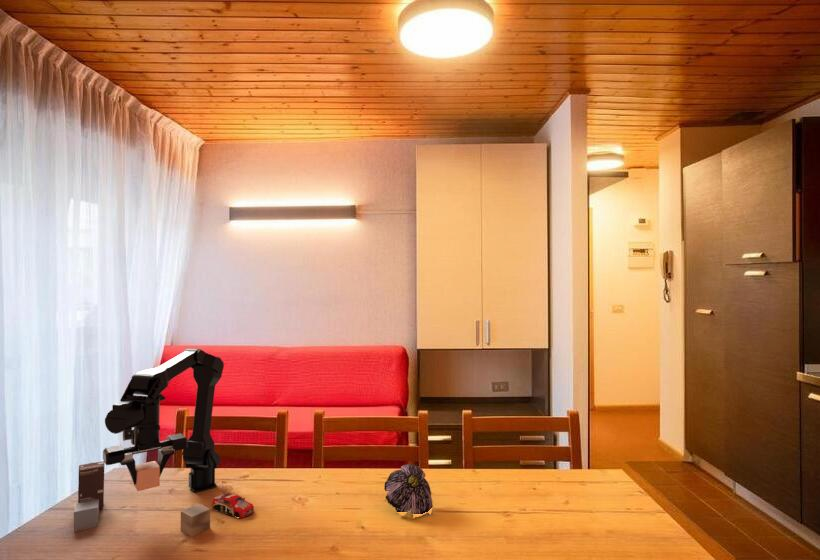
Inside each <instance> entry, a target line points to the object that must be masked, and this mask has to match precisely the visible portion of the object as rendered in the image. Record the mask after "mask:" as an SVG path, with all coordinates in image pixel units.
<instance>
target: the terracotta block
mask: <svg viewBox="0 0 820 560" xmlns="http://www.w3.org/2000/svg"><path fill="white" fill-rule="evenodd" d="M157 463H158V461H156V460H153V461H147V462H143V463H138V464H135V467H136V478H137V480H136V484H135V485H134V484H133V486H134V489H136V491H137V492H140V491H144V490H148V489H152V488H157V487H160V486H161V485H160V484H161V483H160V482H161V479H160V478H161V476H160V466H159V465H158V464H157Z"/></svg>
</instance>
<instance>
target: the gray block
mask: <svg viewBox="0 0 820 560" xmlns="http://www.w3.org/2000/svg"><path fill="white" fill-rule="evenodd" d="M99 513H100V509H99V499H98V500H92V501H87V502H82V503H78V502H77V503H75V505H74V510H73V532H77V531H76V530H78V531H81V530H82V529H83V530H88V529H92V528H95V527H98V526H99V520H100V519H99V517H100V516H99V515H100V514H99Z"/></svg>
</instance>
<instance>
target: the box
mask: <svg viewBox="0 0 820 560" xmlns="http://www.w3.org/2000/svg"><path fill="white" fill-rule="evenodd" d="M77 488H78V489H77V490H78V492H77V493H78V494H77V503H82V502H87V501H92V500H98V499H99V510H100V509H104V505H105V504H104V501H105V500H104V498H105V497H104V495H105V494H104V493H105V462H104V460H103V461H96V462H90V463H86V464H85V463H84V464H80V465H78V487H77Z"/></svg>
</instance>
